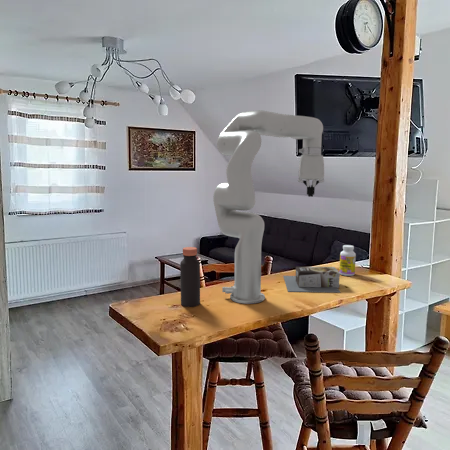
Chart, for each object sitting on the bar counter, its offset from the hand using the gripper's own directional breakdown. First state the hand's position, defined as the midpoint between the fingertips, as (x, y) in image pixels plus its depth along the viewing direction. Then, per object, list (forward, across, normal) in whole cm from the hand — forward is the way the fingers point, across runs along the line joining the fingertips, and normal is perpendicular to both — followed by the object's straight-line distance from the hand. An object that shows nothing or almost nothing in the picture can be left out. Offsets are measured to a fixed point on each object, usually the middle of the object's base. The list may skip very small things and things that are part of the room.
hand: (310, 196), depth 178 cm
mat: (+35, 0, -10) cm, 37 cm away
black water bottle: (+35, -46, -37) cm, 69 cm away
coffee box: (+32, +10, -11) cm, 35 cm away
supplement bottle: (+35, +18, +6) cm, 40 cm away
